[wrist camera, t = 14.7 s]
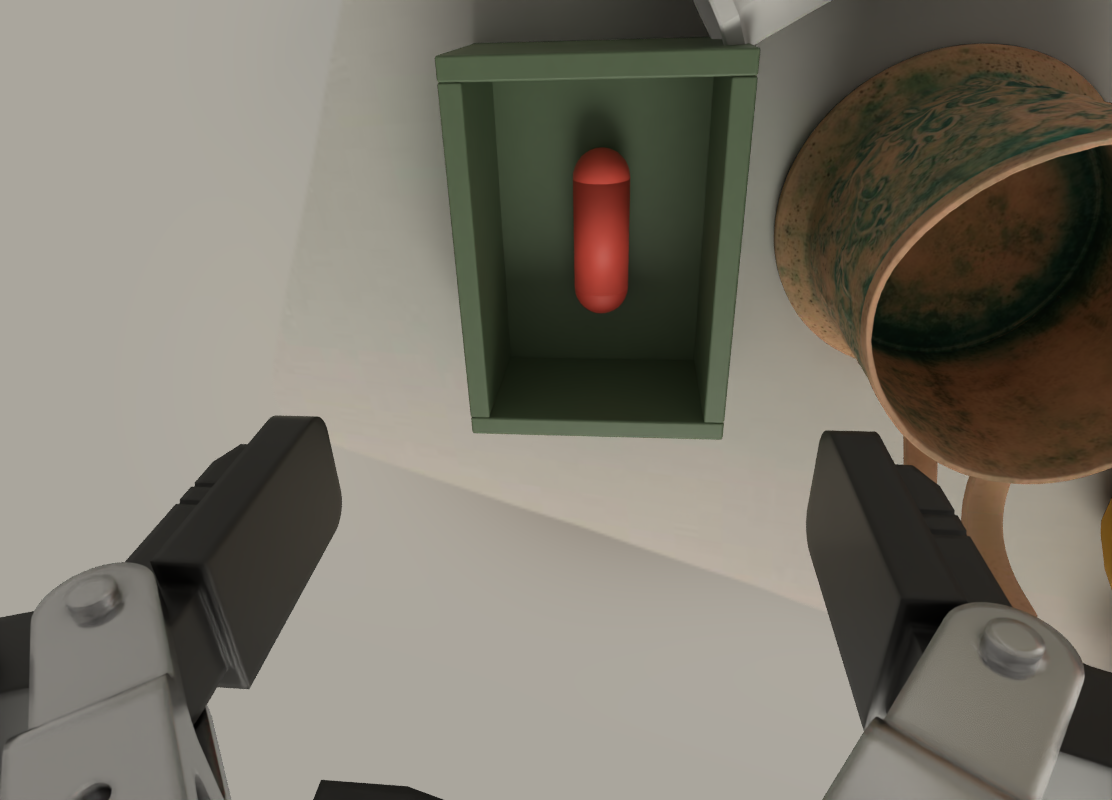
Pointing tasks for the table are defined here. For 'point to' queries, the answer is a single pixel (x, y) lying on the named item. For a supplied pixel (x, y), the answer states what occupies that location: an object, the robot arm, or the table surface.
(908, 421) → the mug
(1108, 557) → the apple
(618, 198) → the capsule
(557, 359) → the bin
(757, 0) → the tube
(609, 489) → the table surface
